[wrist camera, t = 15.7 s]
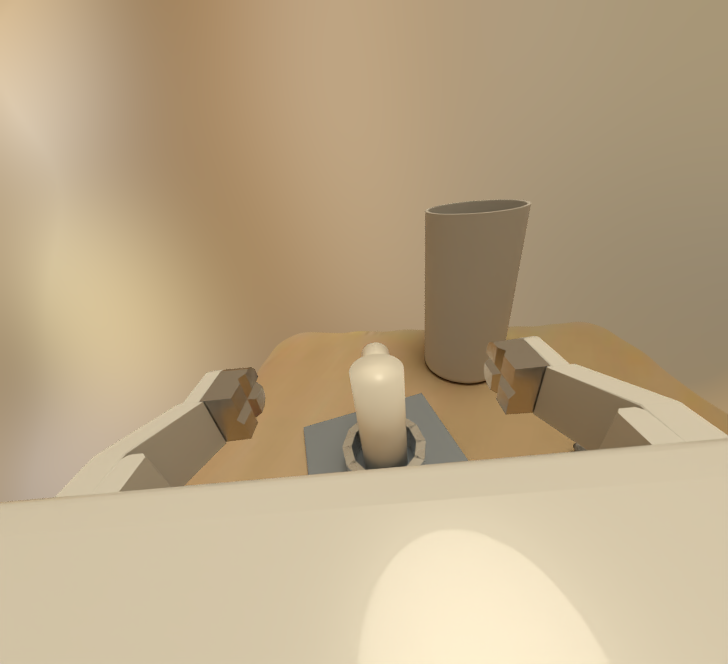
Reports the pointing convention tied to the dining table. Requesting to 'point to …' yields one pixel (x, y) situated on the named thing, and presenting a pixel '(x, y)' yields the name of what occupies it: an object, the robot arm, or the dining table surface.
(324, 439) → the slate plate
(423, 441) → the collar
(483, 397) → the dining table surface
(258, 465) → the dining table surface
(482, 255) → the cylinder vase
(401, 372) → the cream peg
